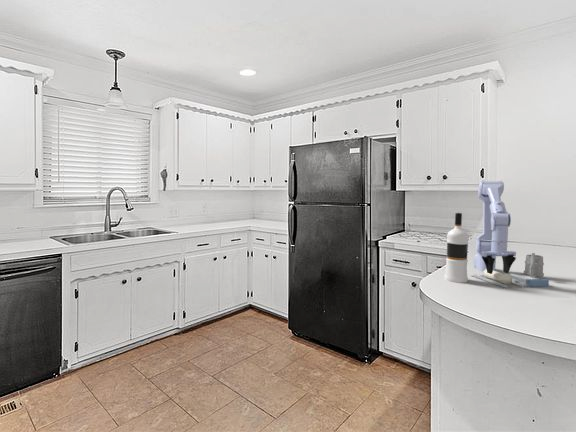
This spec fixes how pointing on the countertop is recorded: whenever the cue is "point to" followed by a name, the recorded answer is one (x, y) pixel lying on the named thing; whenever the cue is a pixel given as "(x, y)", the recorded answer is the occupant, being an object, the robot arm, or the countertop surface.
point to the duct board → (517, 282)
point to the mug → (534, 266)
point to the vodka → (457, 253)
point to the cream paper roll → (498, 277)
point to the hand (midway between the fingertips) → (497, 273)
